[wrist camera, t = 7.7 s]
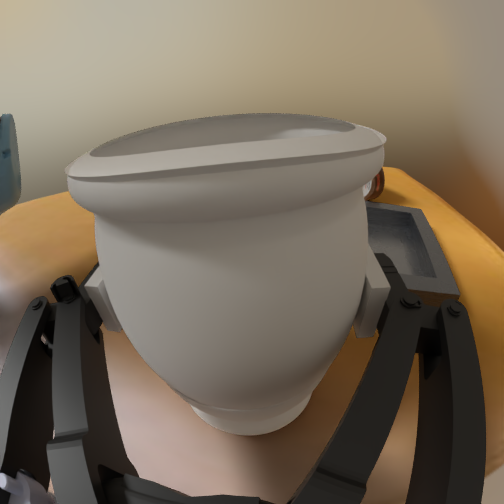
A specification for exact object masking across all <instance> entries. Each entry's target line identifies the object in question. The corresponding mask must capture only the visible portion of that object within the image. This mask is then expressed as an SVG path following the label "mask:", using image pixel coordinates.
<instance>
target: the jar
mask: <svg viewBox="0 0 504 504" xmlns="http://www.w3.org/2000/svg"><path fill="white" fill-rule="evenodd" d="M385 142H386V137H385V136H384V135H383V134H382V133H380V132H378V131H375V130H373V129H371V128H368V127H364V126H361V125H357V124H354V123H350V122H346V121H342V120H337V119H332V118H327V117H319V116H310V115H300V114H279V113H278V114H277V113H257V114H236V115H223V116H214V117H205V118H198V119H191V120H185V121H179V122H175V123H170V124H165V125H160V126H156V127H152V128H148V129H144V130H141V131H137V132H134V133H131V134H128V135H124V136H122V137H119V138H116V139H114V140H111V141H109V142H106V143H104V144H102V145H100V146H98V147H96V148H94V149H92V150H90V151H88V152H87V153H85V154H83V155H81V156H80V157H78V158H76V159H75V160H73V161H72V162H71V163H70V164H69V165H68V166H67V167H66V168H65V173H66V174H67V175H68V177H67V183H68V189H69V192H70V194H71V196H72V198H73V199H74V201H75V202H76V203H78V204H79V205H80V206H81V207H83V208H85V209H86V210H88V211H90V212H93V213H94V216H95V240H96V249H97V255H98V260H99V265H100V269H101V273H102V277H103V280H104V284H105V287H106V290H107V293H108V296H109V299H110V301H111V304H112V307H113V309H114V311H115V314H116V316H117V318H118V320H119V322H120V324H121V326H122V328H123V330H124V331H125V333H126V335H127V337H128V338H129V340H130V341H131V343H132V344H133V346H134V347H135V349H136V350H137V352H138V353H139V354H140V356H141V357H142V358H143V359H144V361H145V362H146V363H147V364H148V365H149V366H150V367H151V368H152V370H153V371H154V372H155V373H156V374H158V375H159V376H160V377H161V378H162V379H163V380H164V381H165V382H166V383H167V384H168V385H169V386H170V387H171V388H172V389H173V390H174V391H175V392H176V393H177V394H178V395H179V396H180V397H181V398H182V399H184V400H185V401H186V402H188V403H189V404H190V405H191V407H192V408H193V410H194V411H195V412H196V414H197V415H198V416H199V417H200V418H201V419H203V420H204V421H205V422H206V423H208V424H209V425H211V426H213V427H215V428H217V429H219V430H221V431H224V432H227V433H231V434H236V435H261V434H266V433H270V432H273V431H275V430H278V429H280V428H282V427H284V426H286V425H287V424H289V423H290V422H292V421H293V420H294V419H295V418H297V417H298V416H299V415H300V413H301V412H302V411H303V410H304V408H305V407H306V405H307V404H308V402H309V400H310V397H311V394H312V391H313V390H314V389H315V388H316V387H317V385H318V384H319V383H320V381H321V380H322V378H323V377H324V375H325V374H326V372H327V370H328V368H329V366H330V365H331V364H332V362H333V361H334V359H335V358H336V356H337V355H338V353H339V351H340V350H341V348H342V346H343V344H344V342H345V340H346V338H347V336H348V334H349V332H350V330H351V327H352V325H353V322H354V320H355V317H356V314H357V311H358V307H359V304H360V300H361V296H362V291H363V286H364V281H365V274H366V265H367V253H368V222H367V212H366V205H365V200H364V195H363V186H364V185H365V184H367V183H368V182H369V181H371V180H372V179H373V178H374V177H375V176H376V175H377V174H378V173H379V171H380V170H381V168H382V165H383V162H384V147H383V144H384V143H385Z"/></svg>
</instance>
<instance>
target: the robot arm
mask: <svg viewBox="0 0 504 504" xmlns="http://www.w3.org/2000/svg"><path fill="white" fill-rule="evenodd" d="M20 195H21V175H20V164H19V154H18V145H17V137H16V129H15V123H14V119H13V116H12V115H11V114H3V115H2V116H1V117H0V215H1V214H2V213H4V212H5V211H7V210H8V209H10V208H12V207H13V206H15V204H16V203H17V202H18V200H19V198H20ZM50 289H51V291H52V293H53V295H54V297H55V298H56V300H57V303H52V304H50V303H49V302H48V300H47V298H46V297H44V296H40V297H37V298H35V299H34V300H33V301H32V302H31V303H30V304H29V306H28V308H27V310H26V312H25V314H24V316H23V318H22V321H21V323H20V325H19V327H18V330H17V332H16V335H15V337H14V340H13V342H12V345H11V347H10V350H9V353H8V355H7V358H6V361H5V364H4V367H3V370H2V373H1V376H0V504H54V503H55V502H54V498H53V497H52V496H51V495H50V494H48V493H47V491H48V487H49V482H50V475H51V479H52V484H53V489H54V493H55V497H56V501H57V504H274V503H271V502H268V501H264V500H261V499H260V498H259V497H246V496H233V495H213V496H198V497H191V496H188V495H186V494H184V493H181V492H179V491H176V490H174V489H171V488H168V487H166V486H163V485H160V484H158V483H155V482H153V481H149V480H145V479H142V478H139V475H138V473H137V471H136V469H135V467H134V466H133V464H132V463H131V462H130V460H129V459H128V457H127V454H126V451H125V448H124V445H123V441H122V438H121V434H120V430H119V426H118V422H117V418H116V414H115V409H114V404H113V400H112V395H111V389H110V384H109V378H108V372H107V365H106V358H105V350H104V341H103V333H102V331H101V329H100V326H101V324H102V322H103V323H104V325H105V327H106V328H107V330H109V331H116V332H121V330H122V326H121V324H120V322H119V320H118V318H117V316H116V314H115V311H114V309H113V307H112V304H111V301H110V299H109V296H108V293H107V290H106V287H105V284H104V280H103V277H102V273H101V269H100V265H99V262H98V263H97V264H96V265H95V266H94V268H93V270H91V272H90V273H89V275H87V277H86V278H85V279H84V281H83V282H82V283H81V285H80V286H79V287H78V286H77V284H76V282H75V280H74V278H73V277H72V276H71V275H66V276H62V277H60V278H58V279H57V280H56V281H54V283H53V284H52V285H51V287H50ZM353 326H354V330H355V334H356V338H364V337H373V336H374V333H375V331H376V328H377V330H378V333H379V337H378V340H377V342H376V344H375V347H374V349H373V351H372V355H371V357H370V360H369V362H368V365H367V367H366V369H365V372H364V374H363V376H362V378H361V381H360V383H359V385H358V387H357V389H356V391H355V394H354V396H353V398H352V400H351V402H350V404H349V406H348V408H347V410H346V412H345V414H344V415H343V417H342V419H341V421H340V423H339V425H338V427H337V428H336V430H335V432H334V434H333V436H332V437H331V439H330V441H329V442H328V444H327V446H326V447H325V449H324V451H323V452H322V454H321V456H320V457H319V459H318V460H317V462H316V464H315V465H314V467H313V468H312V470H311V471H310V473H309V474H308V476H307V477H306V478H305V480H304V481H303V482H302V484H301V485H300V486H299V488H298V489H297V490H296V492H295V493H294V494H293V496H292V497H291V498H290V500H289V501H288V502H287V504H360V503H361V501H362V499H363V497H364V495H365V492H366V483H367V480H368V478H369V476H370V474H371V472H372V470H373V468H374V466H375V464H376V462H377V460H378V458H379V456H380V453H381V451H382V449H383V447H384V444H385V442H386V440H387V437H388V435H389V433H390V430H391V428H392V425H393V422H394V420H395V417H396V414H397V412H398V409H399V406H400V403H401V400H402V397H403V394H404V391H405V387H406V384H407V381H408V377H409V374H410V370H411V366H412V363H413V359H414V355H415V353H419V411H418V427H417V438H416V447H415V455H414V462H413V468H412V474H411V480H410V485H409V490H408V494H407V499H406V503H405V504H481V499H482V492H483V485H484V475H485V461H486V419H485V405H484V394H483V386H482V378H481V372H480V365H479V360H478V355H477V350H476V345H475V340H474V336H473V332H472V328H471V324H470V320H469V316H468V313H467V310H466V308H465V307H464V305H463V304H462V303H460V302H459V301H457V300H454V299H446V300H444V301H443V302H442V303H441V305H440V307H435V306H429V305H425V304H424V303H423V301H422V299H421V298H420V297H419V296H418V295H417V294H415V293H413V292H409V291H408V289H407V287H406V285H405V283H404V281H403V280H402V278H401V276H400V274H399V273H398V271H397V269H396V267H395V265H394V263H393V262H392V260H391V259H390V258H389V257H388V256H387V255H385V254H384V253H373V251H372V249H371V247H370V246H369V244H368V253H367V265H366V274H365V281H364V286H363V291H362V296H361V300H360V304H359V307H358V311H357V314H356V317H355V320H354V322H353ZM42 335H43V336H44V337H45V339H46V343H45V344H44V343H43V342H42V340H41V336H42ZM53 430H55V437H54V439H53Z"/></svg>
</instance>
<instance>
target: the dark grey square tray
mask: <svg viewBox="0 0 504 504" xmlns="http://www.w3.org/2000/svg"><path fill="white" fill-rule="evenodd" d="M365 205H366V212H367V222H368V244H369V246H370V247H371V249H372V251H373V253H384V254H385V255H387V256H388V257H389V258H390V259H391V260H392V262H393V263H394V265H395V267H396V269H397V271H398V273H399V274H400V276H401V278H402V280H403V281H404V283H405V285H406V287H407V289H408V291H409V292H413V293H415V294H417V295H418V296H419V297H420V298H421V299H422V301H423V303H424V304H425V305H429V306H435V307H440V305H441V303H442V302H443V301H444V300H446V299H454V300H457V301H458V299H459V297H460V292H459V290H458V287H457V285H456V282H455V279H454V277H453V274H452V272H451V270H450V267H449V265H448V263H447V260H446V258H445V256H444V254H443V251H442V249H441V247H440V245H439V243H438V241H437V239H436V237H435V235H434V233H433V231H432V229H431V227H430V225H429V223H428V221H427V219H426V217H425V215H424V214H423V212H422V210H421V209H417V208H411V207H405V206H398V205H391V204H384V203H377V202H370V201H365Z"/></svg>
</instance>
